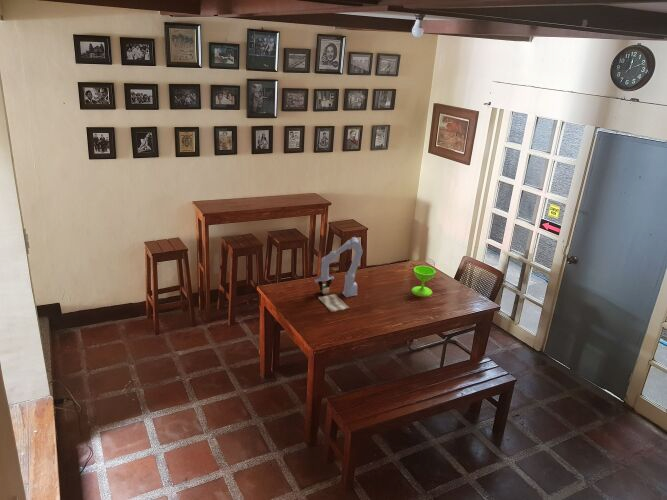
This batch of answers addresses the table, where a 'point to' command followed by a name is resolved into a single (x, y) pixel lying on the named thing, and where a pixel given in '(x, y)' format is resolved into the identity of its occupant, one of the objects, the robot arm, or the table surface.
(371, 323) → the table surface
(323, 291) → the block
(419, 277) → the wineglass
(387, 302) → the table surface
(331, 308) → the birch board
